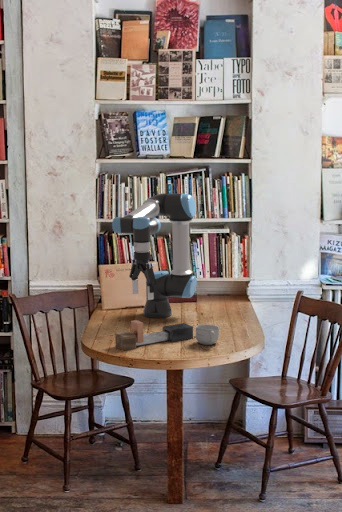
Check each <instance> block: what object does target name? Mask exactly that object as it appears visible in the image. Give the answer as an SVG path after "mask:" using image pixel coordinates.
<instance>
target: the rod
mask: <svg viewBox="0 0 342 512" xmlns="http://www.w3.org/2000/svg"><path fill="white" fill-rule="evenodd" d="M130 333H132V334H134V335H136V347H138V346H142V345H148V344H149V345H150V344H155V343H159V342H166V341H170V332H169V331H167V330H166V331H156V332H150V333H144V322H142V321H140V320H137V319H135V320H134V319H133V320H130Z"/></svg>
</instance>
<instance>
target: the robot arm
mask: <svg viewBox="0 0 342 512" xmlns="http://www.w3.org/2000/svg"><path fill="white" fill-rule="evenodd" d="M196 213H197V205H196V201H195V198H194V196H192V195H191V194H188V193H158V194H156V195H152V196H151V197H149V198H147V199H146V200H144V201H143V202H142V205H140V206H139V207H136V208H135V209H134V210H132V211H131V212H129V213H128V214H126V215H125V216H123V217H122V216H118V217H117V216H116V217H114V218H113V220H112V222H111V223H112V224H111V225H112V227H111V228H112V231H113V232H114V233H115V234H122V235H123V234H127V235H128V234H129V235H133V236H132V237H133V245H132V246H133V259H132V261H131V263H132V264H131V269H130V273H129V278H130V279H131V283H132V287H131V289H132V295H137V294H139V278H138V277H139V275H140V274H141V272H142V274H143V275H144V277H145V284H146V285H145V287H146V289H145V292H146V293H145V294H146V295H145V296H146V297H145V298H146V300H145V303H144V308H143V313H142V315H143V317H146V318H152V319H155V318H156V319H163V318H168V317H171V316H172V312H173V311H172V307H171V304H170V302H169V297H172V298H182V299H184V298H185V299H189V298H193V296H194V294H196V293H195V292H196V289H197V285H198V279H197V276H195V275H193V272H194V271H193V270H191V268H190V267H191V266H190V258H191V257H190V223H191V222H192V221H193V218H194V217H195V216H196ZM160 216H161V217H169V218H168V219H169V222H170V223H171V224H172V226H171V228H172V230H171V231H172V270H171V271H170V273H169V271H168V270H156V271H154V268H153V267H154V266H153V262H152V263H151V262H150V263H149V261H150V260H151V236H152V235H155V234H157V233H159V232H160V231H161V228H162V225H161V220H159V219H158V218H157V217H160Z"/></svg>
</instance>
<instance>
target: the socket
mask: <svg viewBox="0 0 342 512" xmlns="http://www.w3.org/2000/svg"><path fill="white" fill-rule="evenodd" d="M114 334H115V335H114V337H115V340H114V341H115V347H116V348H118V349H120V350H122V351H123V352H124V351H129V350H130V351H131V350H135V349H137V346H136V335H134V334H132V333H131V331H126V330H125V331H121V332H120V331H119V332H115V333H114Z"/></svg>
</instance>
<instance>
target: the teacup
mask: <svg viewBox="0 0 342 512" xmlns="http://www.w3.org/2000/svg"><path fill="white" fill-rule="evenodd" d="M219 334H220V327H219V326H218V325H214V324H204V323H203V324H202V323H201V324H198V325H196V326H195V340H196V341H197V342H198V343H199V344H200V345H204V346H210V345H211V346H213V345H214V344H216V342H218V341H219V336H220V335H219Z"/></svg>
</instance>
